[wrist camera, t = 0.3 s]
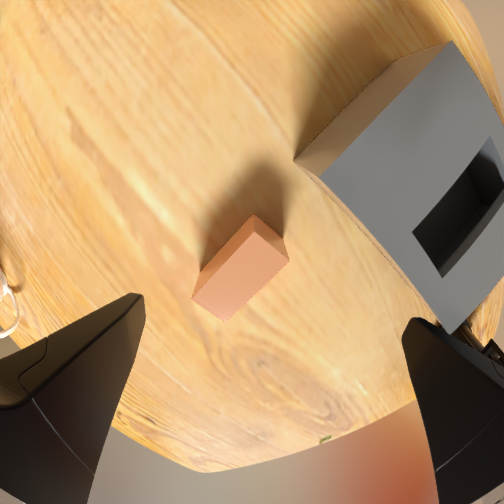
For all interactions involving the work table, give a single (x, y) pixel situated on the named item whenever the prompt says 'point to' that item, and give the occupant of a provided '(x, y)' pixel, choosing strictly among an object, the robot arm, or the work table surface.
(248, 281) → the block
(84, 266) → the work table surface
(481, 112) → the box
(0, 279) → the cup
